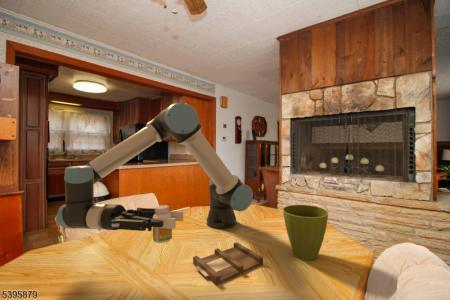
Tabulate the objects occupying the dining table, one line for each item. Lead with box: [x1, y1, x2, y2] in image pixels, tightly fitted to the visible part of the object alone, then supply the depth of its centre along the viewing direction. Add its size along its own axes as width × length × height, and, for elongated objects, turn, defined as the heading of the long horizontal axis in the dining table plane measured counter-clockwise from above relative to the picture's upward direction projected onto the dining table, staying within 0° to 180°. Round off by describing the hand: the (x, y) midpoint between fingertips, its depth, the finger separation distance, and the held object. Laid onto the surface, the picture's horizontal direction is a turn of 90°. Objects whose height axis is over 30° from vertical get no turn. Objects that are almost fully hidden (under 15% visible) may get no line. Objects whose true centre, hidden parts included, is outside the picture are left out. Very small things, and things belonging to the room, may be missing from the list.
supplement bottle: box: [152, 204, 173, 244], centre depth 63 cm, size 5×5×10 cm
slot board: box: [192, 241, 264, 286], centre depth 71 cm, size 14×20×2 cm
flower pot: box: [282, 204, 329, 261], centre depth 76 cm, size 15×15×16 cm
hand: (179, 219), depth 63 cm, fingers closed on supplement bottle, 5 cm apart
